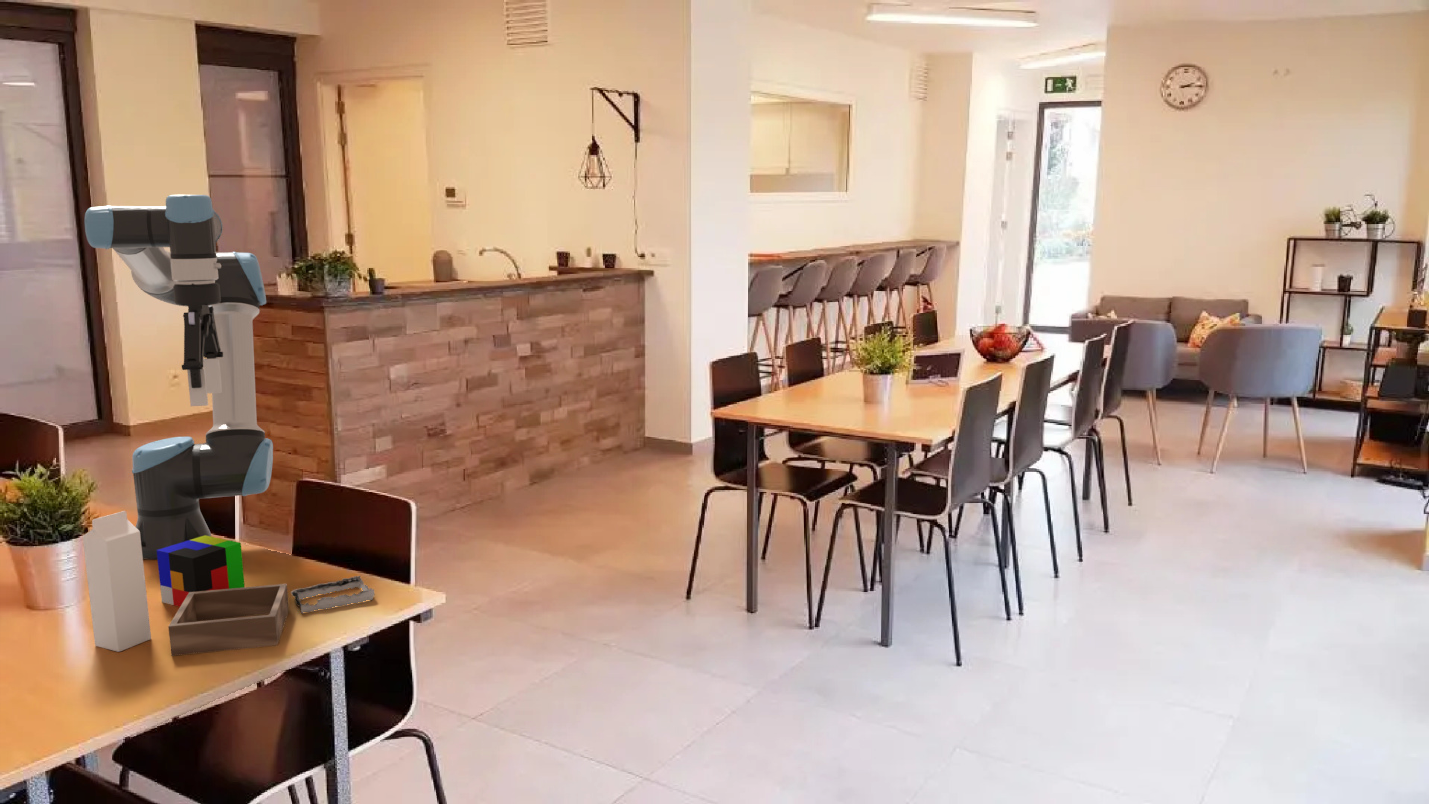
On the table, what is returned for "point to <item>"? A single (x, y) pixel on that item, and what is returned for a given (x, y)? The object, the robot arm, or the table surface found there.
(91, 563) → the milk
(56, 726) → the table surface
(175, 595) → the puzzle toy
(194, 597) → the walnut box
